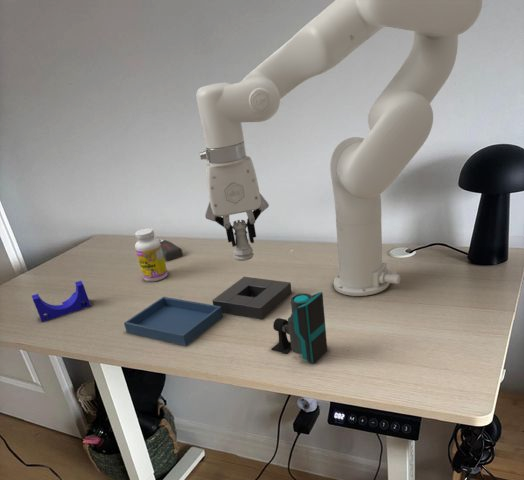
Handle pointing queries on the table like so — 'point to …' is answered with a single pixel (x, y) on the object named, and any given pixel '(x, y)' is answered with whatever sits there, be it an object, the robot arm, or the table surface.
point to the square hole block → (258, 307)
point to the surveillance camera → (303, 328)
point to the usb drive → (170, 250)
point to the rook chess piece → (241, 242)
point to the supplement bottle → (150, 255)
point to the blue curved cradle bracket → (70, 305)
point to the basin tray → (174, 320)
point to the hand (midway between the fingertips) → (242, 242)
